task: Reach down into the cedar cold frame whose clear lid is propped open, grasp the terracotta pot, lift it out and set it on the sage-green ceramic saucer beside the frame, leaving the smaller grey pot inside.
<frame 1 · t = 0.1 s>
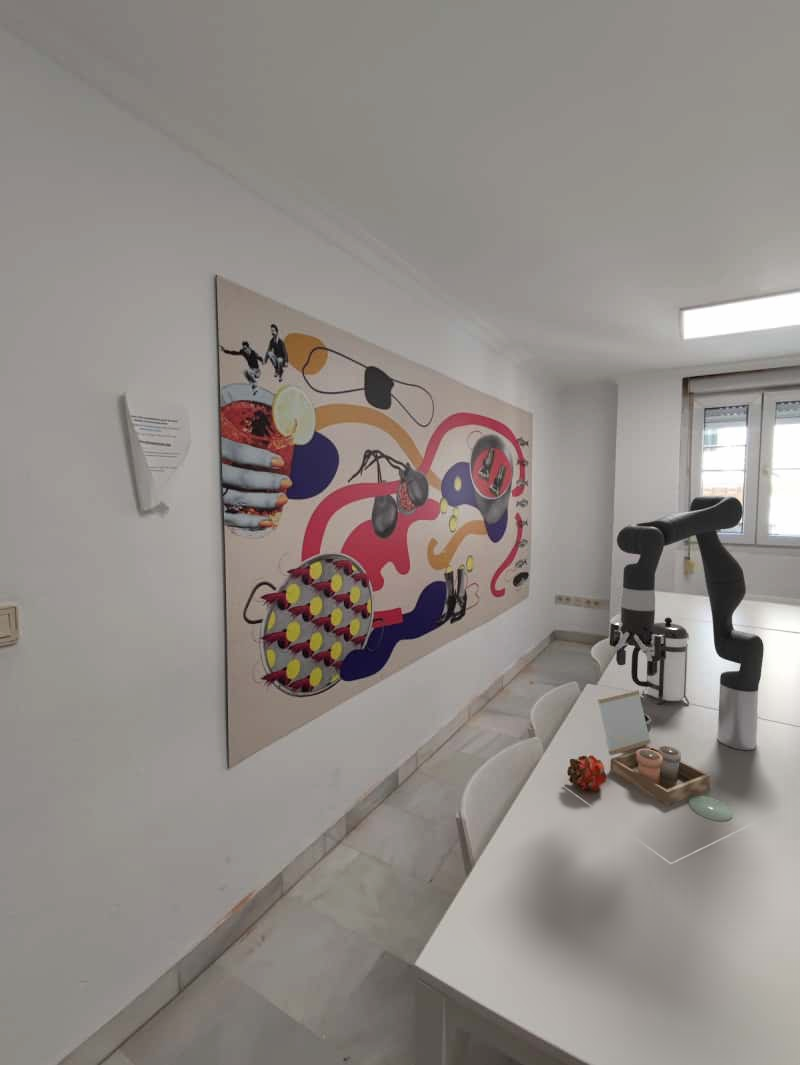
hand: (635, 669, 120), 29 cm above the table, fingers open, 8 cm apart
grey pot: (668, 775, 124), resting on cold frame
dragon fruit: (586, 786, 120), on the table
saucer: (710, 809, 110), on the table
terracotta pot: (648, 782, 120), resting on cold frame
cold frame: (658, 780, 122), on the table
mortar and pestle: (633, 738, 144), on the table
lid: (624, 721, 131), point 11 cm above the table, hinge at 108.0°
coffee press: (662, 700, 172), on the table
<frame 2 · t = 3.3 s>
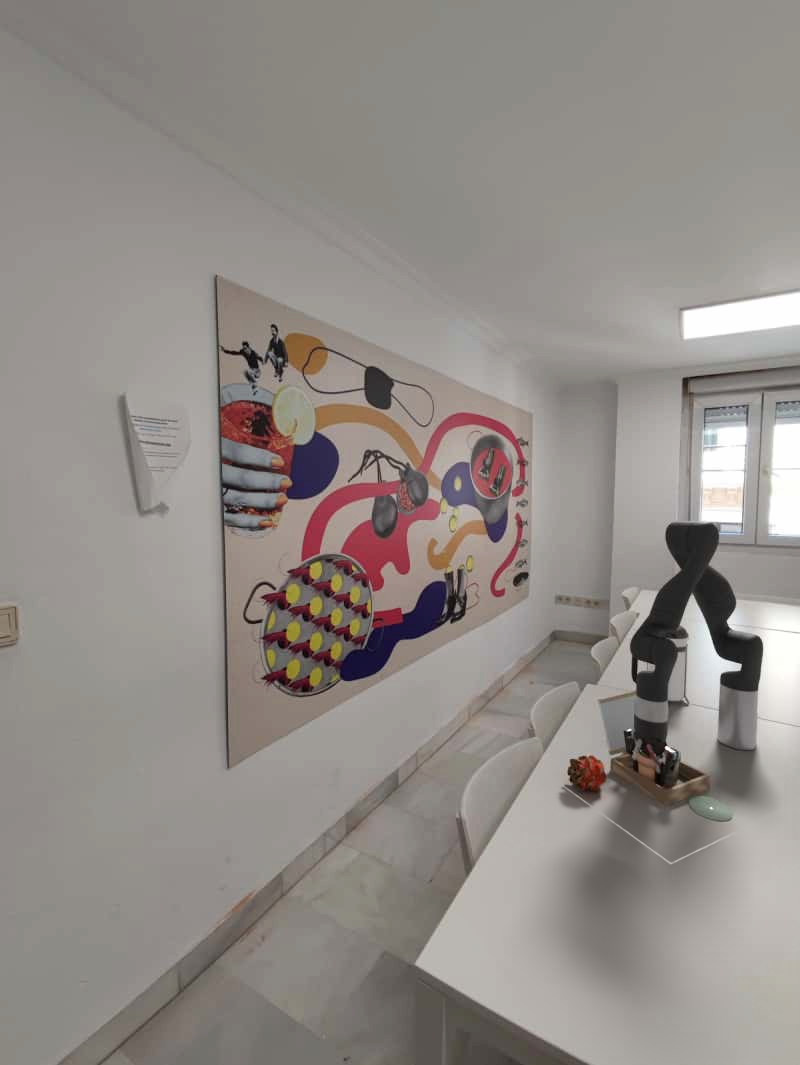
hand: (648, 779, 120), 1 cm above the table, fingers closed on terracotta pot, 5 cm apart
terracotta pot: (648, 782, 120), resting on cold frame, touching gripper
everything else where it was.
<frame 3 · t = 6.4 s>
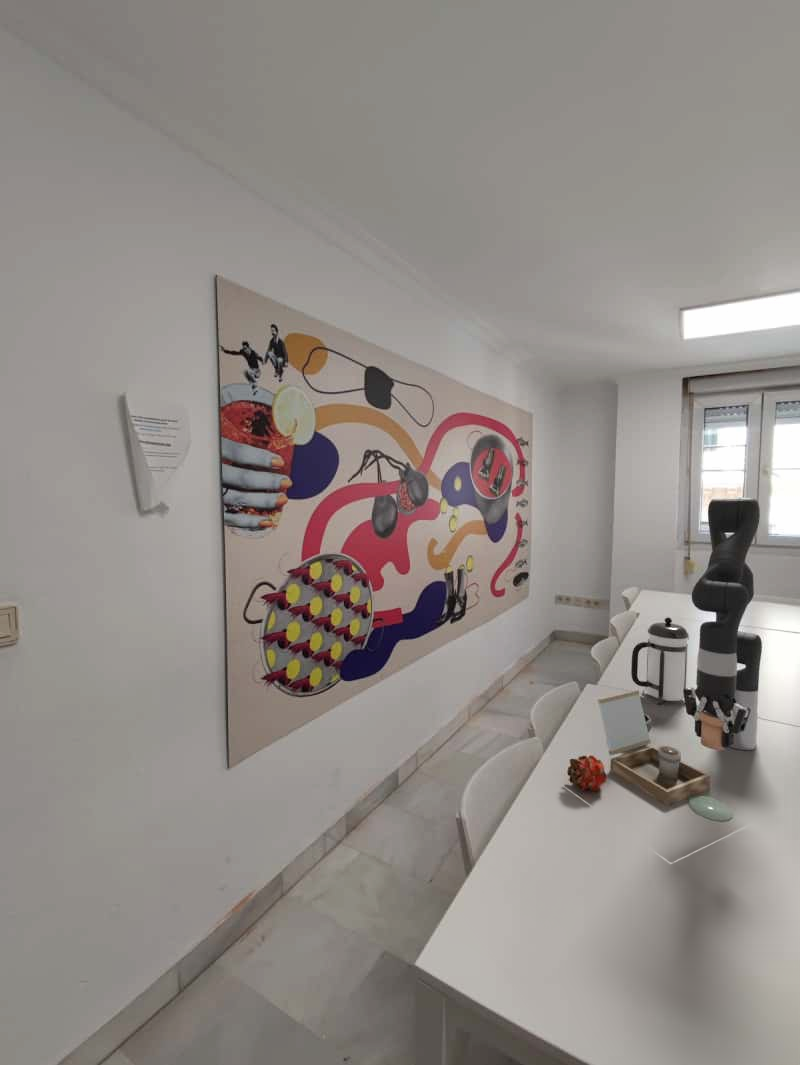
hand: (713, 741, 109), 16 cm above the table, fingers closed on terracotta pot, 5 cm apart
terracotta pot: (713, 744, 109), point 15 cm above the table, touching gripper
everything else where it was.
when the fingers open (3 cm above the table, at t = 9.6 s): terracotta pot drops 1 cm, resting on saucer.
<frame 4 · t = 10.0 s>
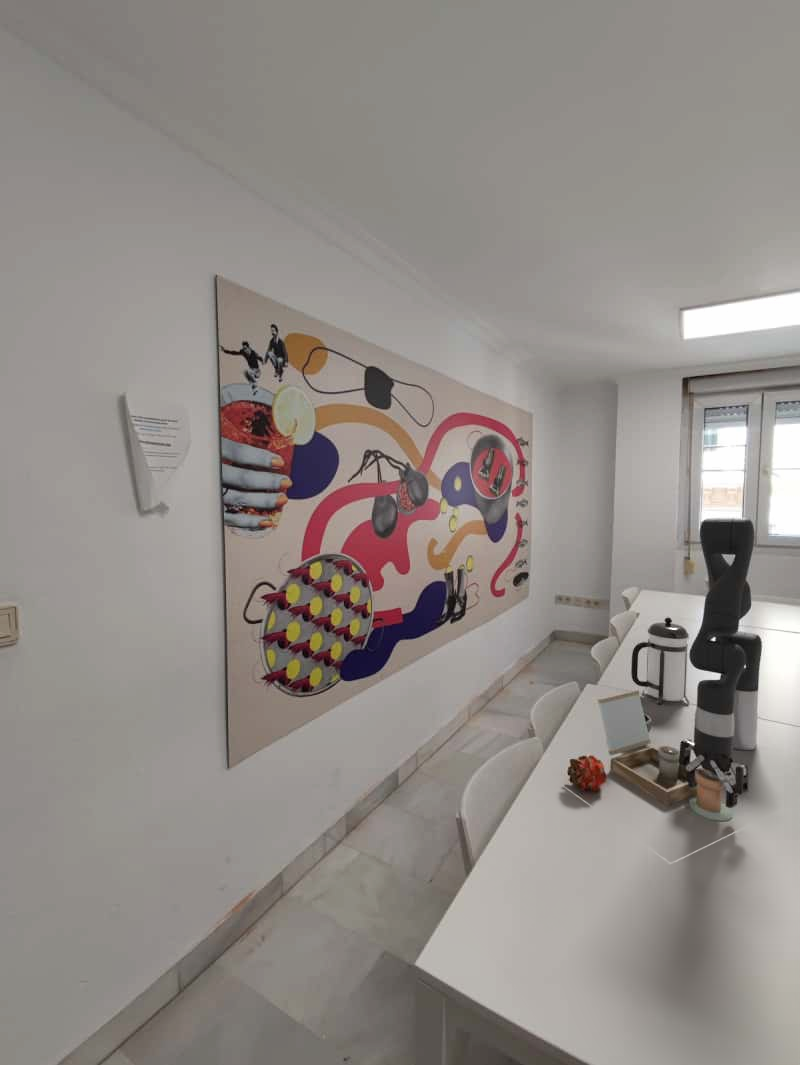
hand: (710, 796, 110), 3 cm above the table, fingers open, 8 cm apart
terracotta pot: (708, 805, 111), point 1 cm above the table, touching saucer
everything else where it was.
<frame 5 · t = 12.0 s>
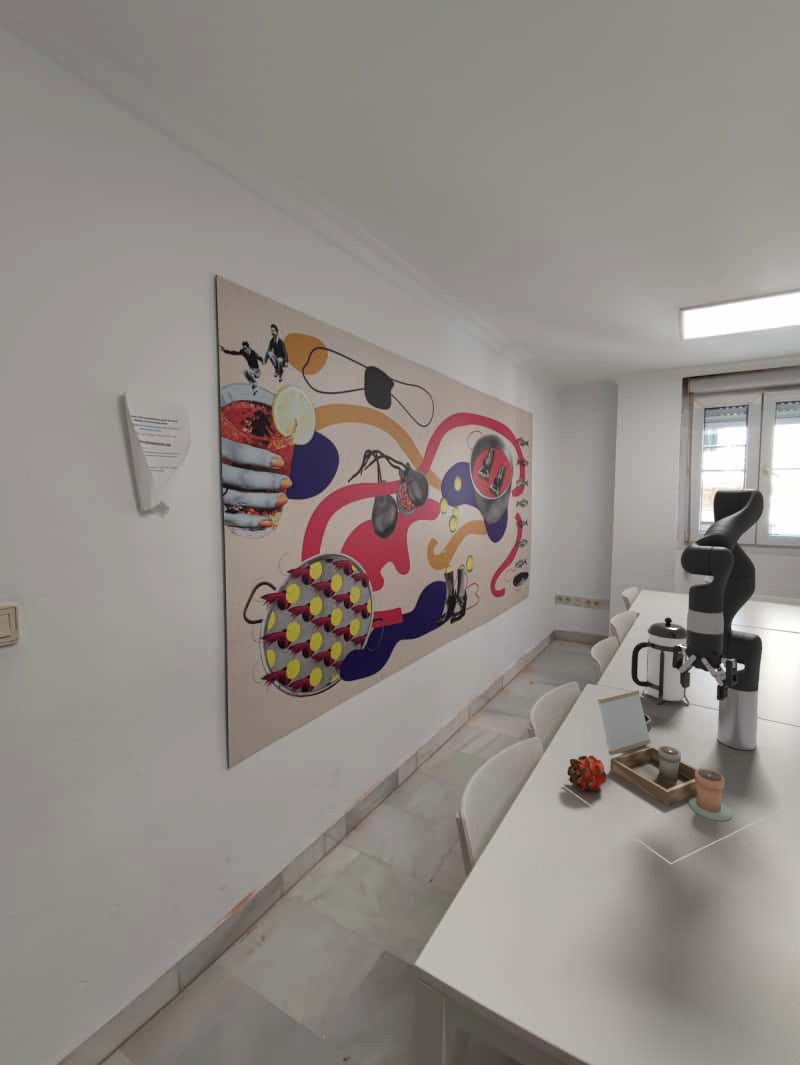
hand: (702, 693, 117), 24 cm above the table, fingers open, 8 cm apart
nothing on the table moved.
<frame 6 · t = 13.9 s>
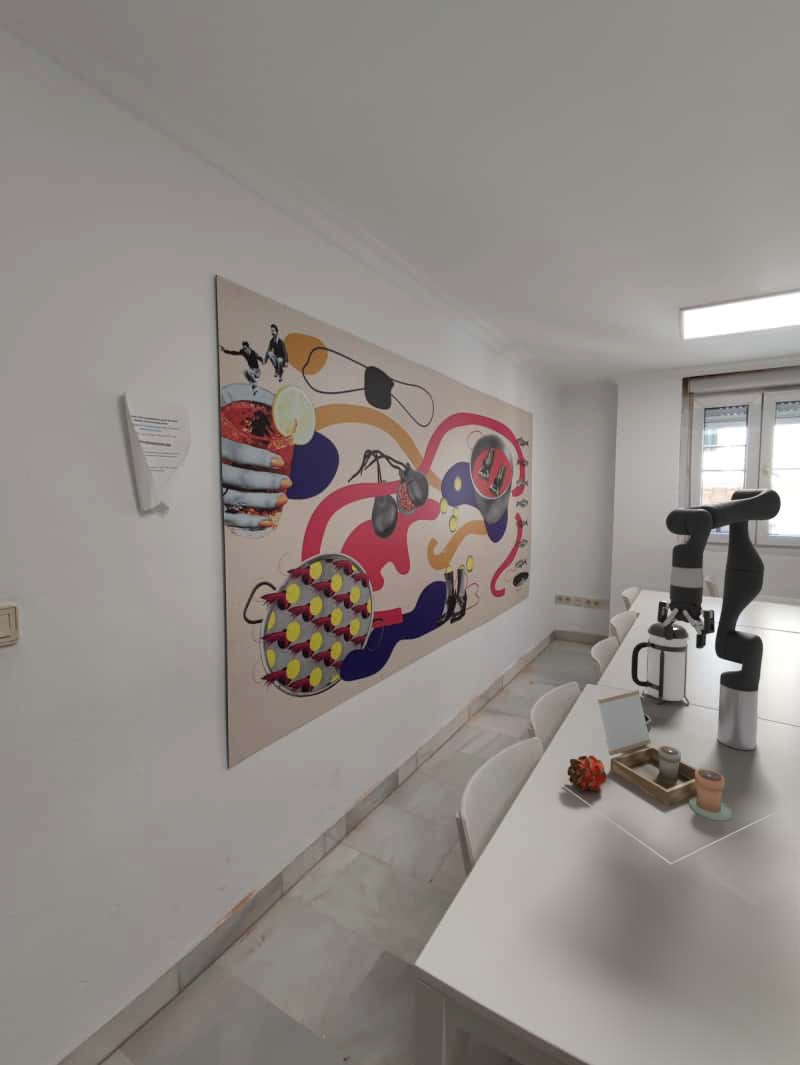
hand: (683, 643, 128), 33 cm above the table, fingers open, 8 cm apart
nothing on the table moved.
at the end: terracotta pot 0.4 cm from the saucer (horizontally); terracotta pot point 0.7 cm above the table; terracotta pot tilted 0° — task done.
